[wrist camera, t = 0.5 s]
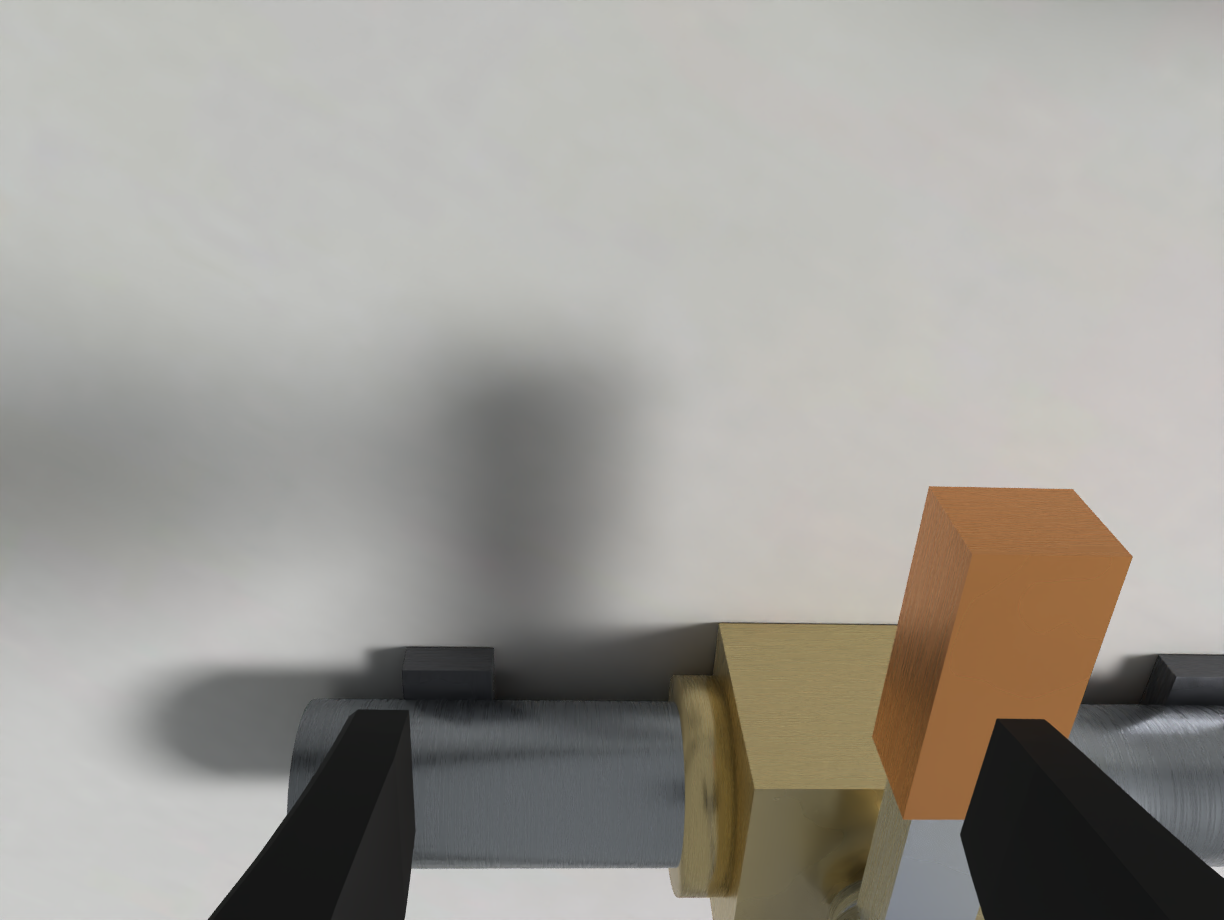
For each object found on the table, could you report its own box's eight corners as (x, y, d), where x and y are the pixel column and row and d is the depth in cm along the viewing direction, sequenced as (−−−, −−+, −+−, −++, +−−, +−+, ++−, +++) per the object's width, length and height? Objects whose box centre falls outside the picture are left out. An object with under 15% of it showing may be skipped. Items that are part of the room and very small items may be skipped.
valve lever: (928, 949, 21) (966, 1055, 19) (805, 950, 21) (830, 1057, 19) (1073, 476, 15) (1147, 556, 13) (908, 473, 15) (958, 554, 13)
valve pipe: (1234, 796, 27) (1375, 982, 22) (341, 795, 26) (290, 993, 21) (1319, 619, 24) (1501, 790, 20) (319, 607, 23) (255, 787, 18)
